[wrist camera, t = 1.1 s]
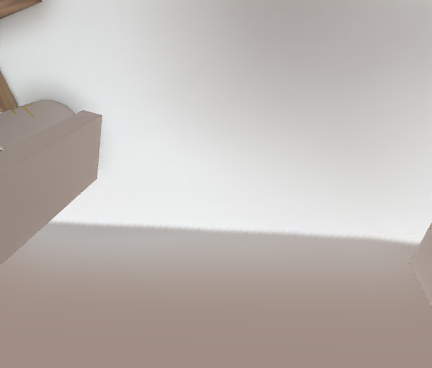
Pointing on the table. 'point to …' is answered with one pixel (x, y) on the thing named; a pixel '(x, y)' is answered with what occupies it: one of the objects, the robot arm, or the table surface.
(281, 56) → the table surface
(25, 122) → the cup
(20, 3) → the box
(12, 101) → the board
